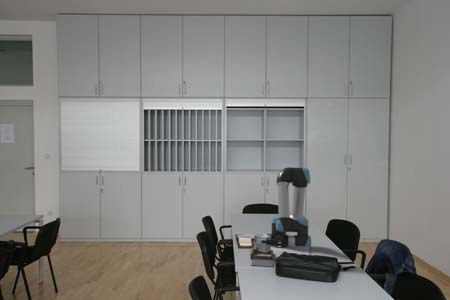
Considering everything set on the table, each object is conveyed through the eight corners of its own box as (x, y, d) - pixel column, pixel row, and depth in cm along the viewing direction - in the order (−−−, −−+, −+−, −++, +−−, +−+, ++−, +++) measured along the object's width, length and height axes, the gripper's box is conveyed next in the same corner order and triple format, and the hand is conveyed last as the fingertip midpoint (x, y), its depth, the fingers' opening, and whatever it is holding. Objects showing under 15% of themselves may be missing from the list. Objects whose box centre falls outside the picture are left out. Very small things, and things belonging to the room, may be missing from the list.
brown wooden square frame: (251, 252, 253) (251, 246, 253) (273, 253, 251) (273, 248, 251) (250, 259, 238) (250, 253, 238) (273, 260, 236) (273, 254, 236)
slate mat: (252, 259, 237) (252, 258, 237) (272, 261, 235) (272, 260, 235) (251, 265, 225) (251, 264, 225) (272, 267, 223) (272, 266, 223)
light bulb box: (253, 249, 246) (253, 234, 245) (259, 247, 251) (259, 232, 250) (265, 253, 238) (265, 237, 238) (271, 250, 243) (271, 235, 243)
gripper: (289, 251, 230) (256, 249, 233) (287, 240, 253) (257, 238, 256) (289, 239, 230) (256, 238, 233) (287, 230, 253) (257, 228, 256)
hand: (257, 238), depth 245 cm, fingers closed on light bulb box, 11 cm apart
